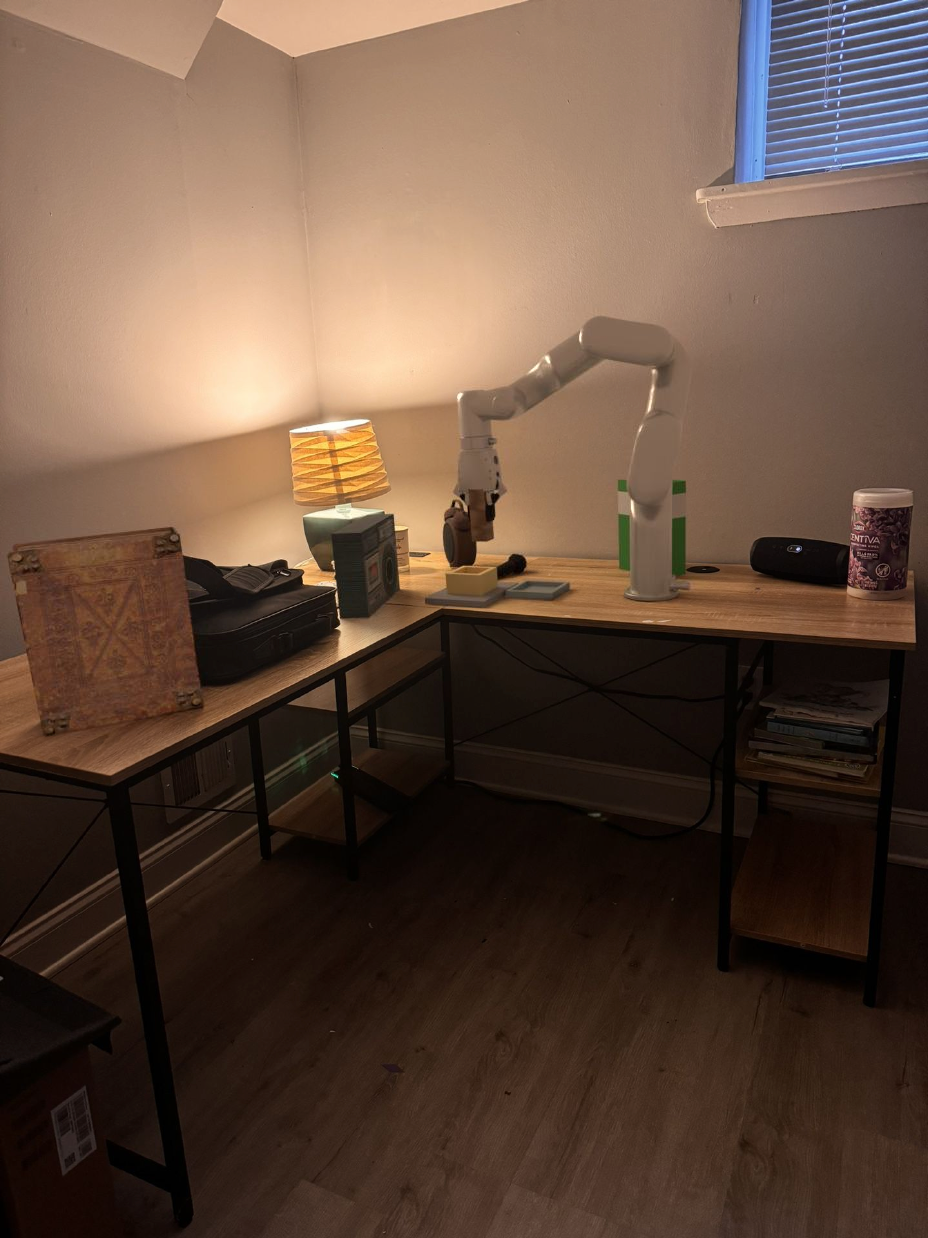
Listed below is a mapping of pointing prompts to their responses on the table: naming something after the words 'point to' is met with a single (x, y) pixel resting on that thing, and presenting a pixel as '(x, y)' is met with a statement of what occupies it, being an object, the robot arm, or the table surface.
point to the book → (106, 628)
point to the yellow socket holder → (470, 588)
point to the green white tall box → (677, 526)
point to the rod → (479, 517)
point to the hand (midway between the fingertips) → (481, 520)
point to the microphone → (512, 565)
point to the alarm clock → (458, 537)
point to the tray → (538, 590)
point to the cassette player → (365, 565)
